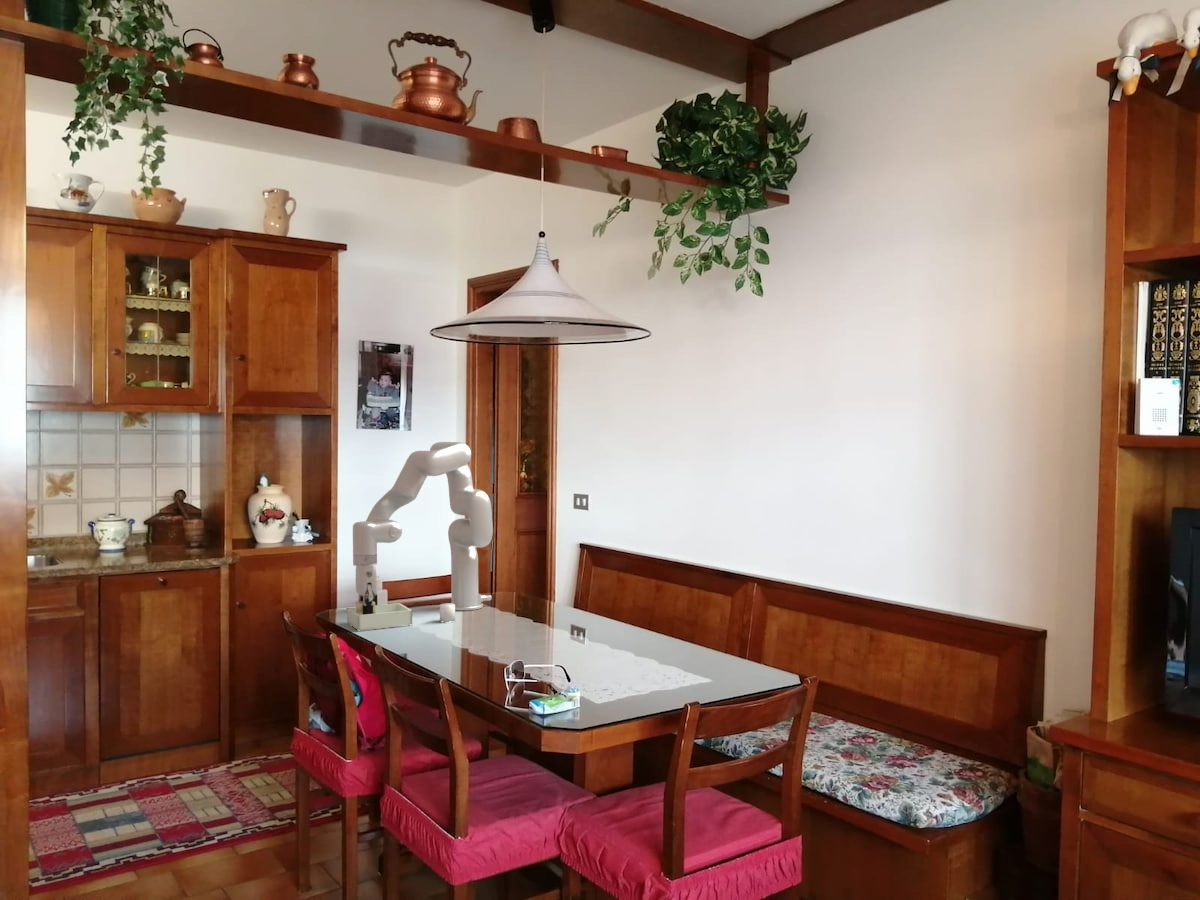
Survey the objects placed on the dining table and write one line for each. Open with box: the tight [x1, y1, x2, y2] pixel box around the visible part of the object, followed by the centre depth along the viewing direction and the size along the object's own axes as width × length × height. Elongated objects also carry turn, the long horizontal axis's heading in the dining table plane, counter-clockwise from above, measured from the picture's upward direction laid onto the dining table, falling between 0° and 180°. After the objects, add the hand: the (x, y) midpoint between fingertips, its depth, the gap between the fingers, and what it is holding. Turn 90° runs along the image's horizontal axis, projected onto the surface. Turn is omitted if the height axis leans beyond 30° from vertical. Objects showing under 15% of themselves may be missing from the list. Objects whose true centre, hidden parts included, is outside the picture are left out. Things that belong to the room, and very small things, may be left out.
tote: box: [346, 602, 413, 632], centre depth 299 cm, size 17×14×5 cm
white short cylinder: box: [439, 602, 456, 622], centre depth 304 cm, size 5×5×6 cm
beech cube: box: [355, 601, 375, 615], centre depth 297 cm, size 5×5×5 cm
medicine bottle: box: [373, 575, 389, 605], centre depth 321 cm, size 7×7×12 cm
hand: (365, 615), depth 297 cm, fingers closed on beech cube, 4 cm apart
